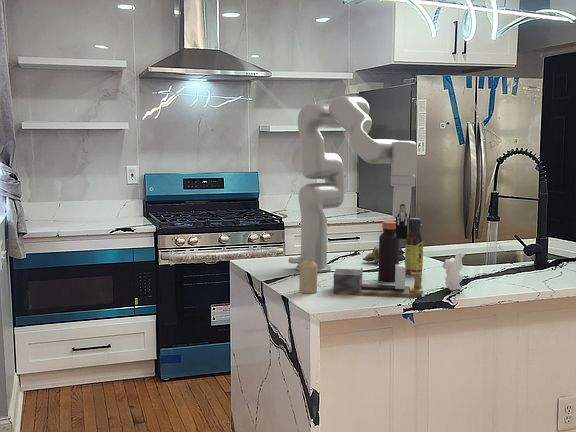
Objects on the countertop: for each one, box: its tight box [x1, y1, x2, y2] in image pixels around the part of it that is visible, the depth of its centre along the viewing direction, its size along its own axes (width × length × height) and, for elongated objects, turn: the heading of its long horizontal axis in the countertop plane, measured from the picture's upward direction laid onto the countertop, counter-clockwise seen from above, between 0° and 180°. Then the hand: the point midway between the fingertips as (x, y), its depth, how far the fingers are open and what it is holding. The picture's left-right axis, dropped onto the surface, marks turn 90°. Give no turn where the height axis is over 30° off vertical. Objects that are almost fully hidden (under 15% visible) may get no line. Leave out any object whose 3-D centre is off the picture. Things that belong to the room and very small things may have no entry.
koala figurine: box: [441, 251, 466, 291], centre depth 216 cm, size 8×7×12 cm
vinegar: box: [377, 220, 401, 283], centre depth 228 cm, size 7×7×20 cm
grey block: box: [361, 264, 406, 290], centre depth 211 cm, size 14×4×7 cm, turn 82°
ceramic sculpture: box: [362, 244, 379, 264], centre depth 260 cm, size 11×9×15 cm
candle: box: [298, 260, 318, 295], centre depth 211 cm, size 6×6×10 cm
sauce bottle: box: [404, 217, 424, 275], centre depth 240 cm, size 7×6×20 cm
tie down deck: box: [332, 267, 424, 299], centre depth 212 cm, size 28×11×7 cm, turn 82°
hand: (401, 236), depth 209 cm, fingers open, 9 cm apart
